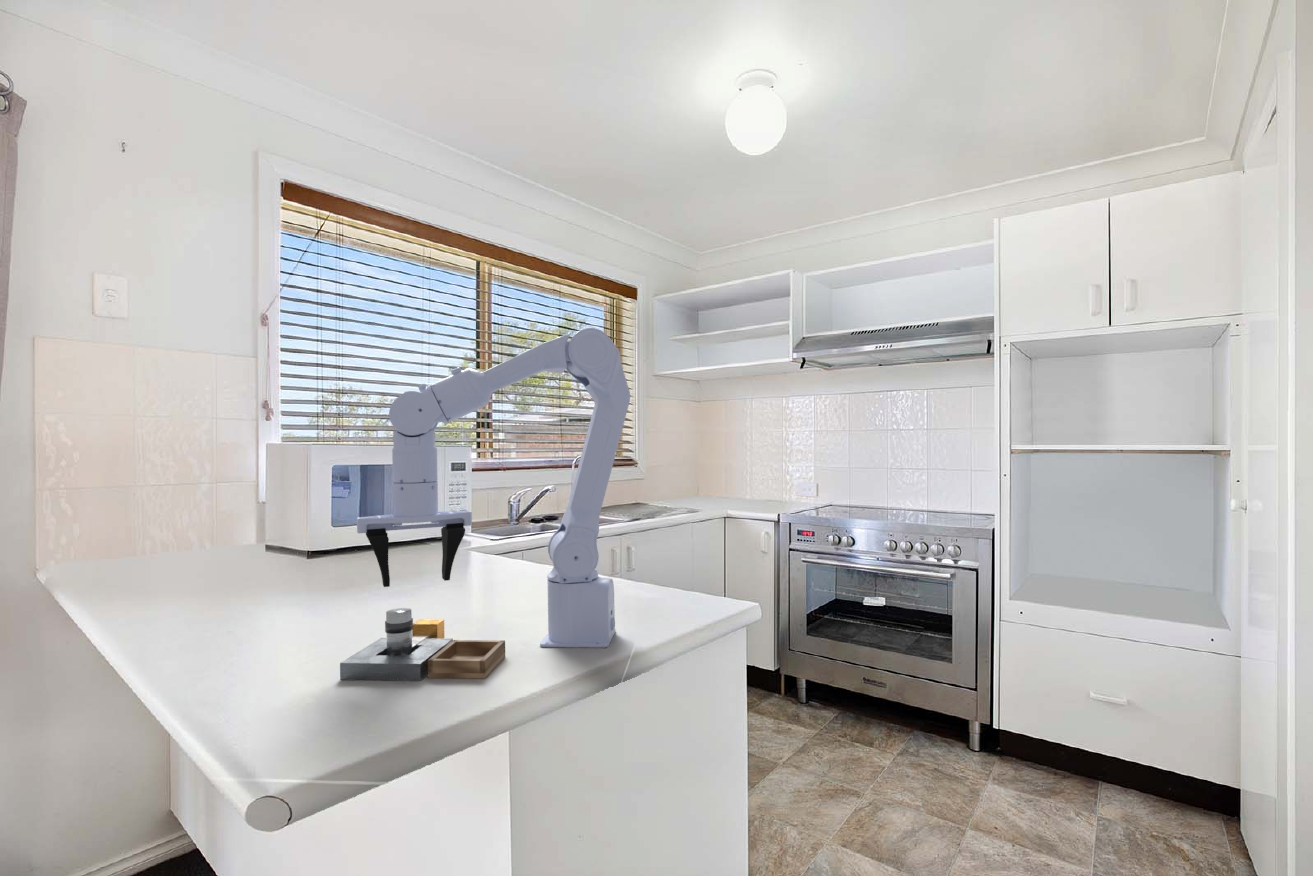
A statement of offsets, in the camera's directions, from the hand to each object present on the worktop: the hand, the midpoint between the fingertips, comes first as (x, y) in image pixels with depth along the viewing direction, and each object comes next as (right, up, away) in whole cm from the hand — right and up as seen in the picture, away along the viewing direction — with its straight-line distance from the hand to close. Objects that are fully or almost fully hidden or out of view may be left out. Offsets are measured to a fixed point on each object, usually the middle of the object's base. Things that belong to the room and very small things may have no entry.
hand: (416, 582), depth 89 cm
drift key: (0, -10, 0) cm, 9 cm away
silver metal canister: (0, -10, -5) cm, 11 cm away
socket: (0, -10, -5) cm, 11 cm away
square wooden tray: (+9, -9, -6) cm, 14 cm away
